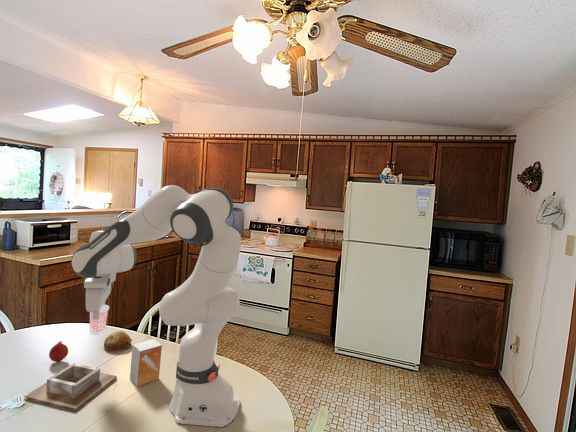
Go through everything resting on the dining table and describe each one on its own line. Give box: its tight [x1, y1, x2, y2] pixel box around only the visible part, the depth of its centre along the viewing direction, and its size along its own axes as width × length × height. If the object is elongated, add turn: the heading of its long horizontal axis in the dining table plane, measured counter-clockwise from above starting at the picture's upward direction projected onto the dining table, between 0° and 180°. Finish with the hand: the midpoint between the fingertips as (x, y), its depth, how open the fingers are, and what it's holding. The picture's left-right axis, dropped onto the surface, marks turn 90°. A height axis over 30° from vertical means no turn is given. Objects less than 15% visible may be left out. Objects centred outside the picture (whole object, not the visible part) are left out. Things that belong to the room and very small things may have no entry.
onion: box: [48, 340, 69, 363], centre depth 120 cm, size 6×6×8 cm
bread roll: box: [103, 330, 133, 352], centre depth 137 cm, size 10×10×8 cm
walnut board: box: [24, 362, 117, 412], centre depth 107 cm, size 18×18×5 cm
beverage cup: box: [89, 303, 110, 336], centre depth 112 cm, size 6×6×14 cm
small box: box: [129, 338, 163, 388], centre depth 116 cm, size 8×6×13 cm
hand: (98, 314), depth 112 cm, fingers closed on beverage cup, 6 cm apart
